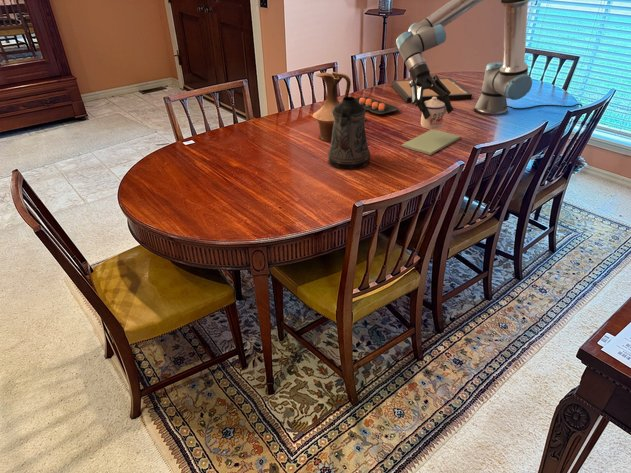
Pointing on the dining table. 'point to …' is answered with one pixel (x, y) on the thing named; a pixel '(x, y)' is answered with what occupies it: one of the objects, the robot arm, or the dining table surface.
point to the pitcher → (329, 103)
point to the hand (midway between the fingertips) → (439, 114)
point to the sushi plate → (376, 106)
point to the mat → (431, 141)
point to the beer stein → (348, 136)
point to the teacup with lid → (434, 113)
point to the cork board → (451, 85)
